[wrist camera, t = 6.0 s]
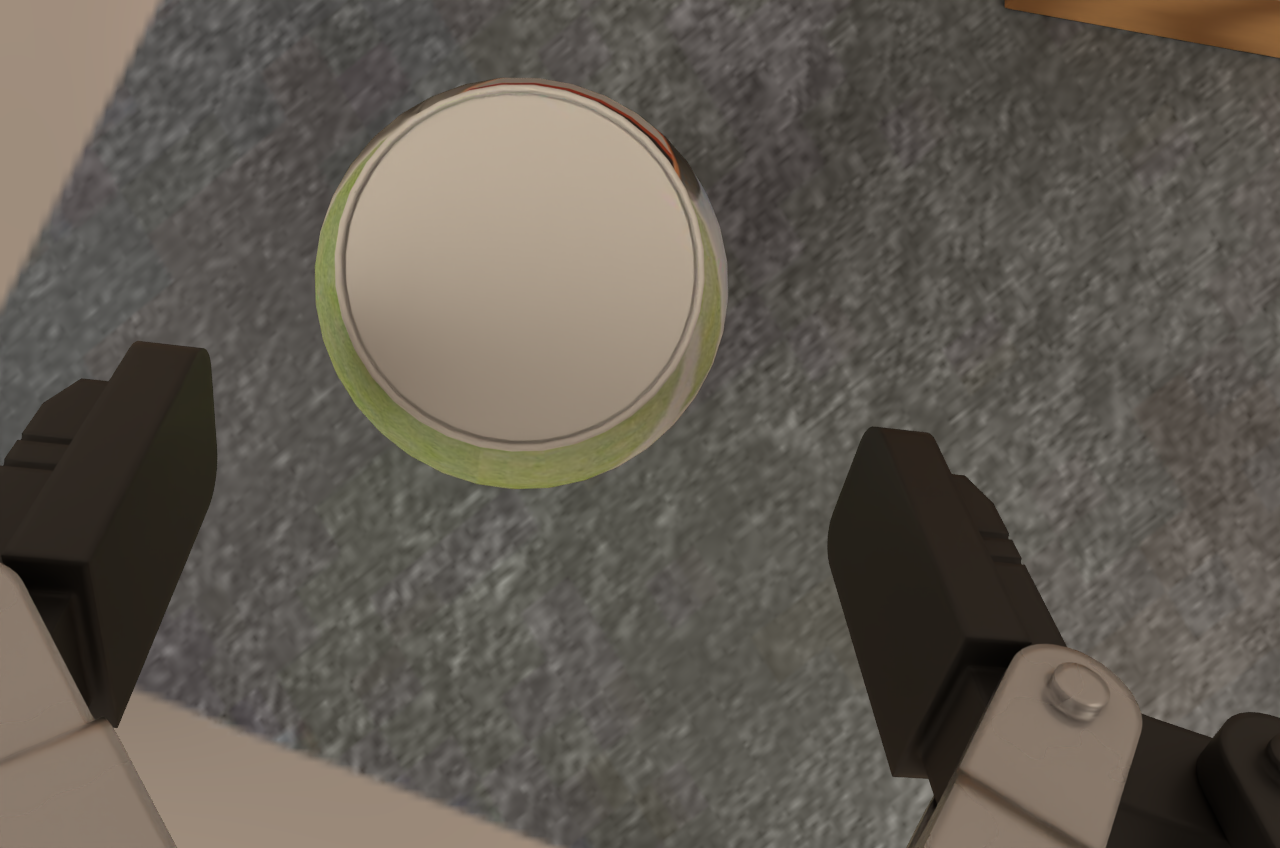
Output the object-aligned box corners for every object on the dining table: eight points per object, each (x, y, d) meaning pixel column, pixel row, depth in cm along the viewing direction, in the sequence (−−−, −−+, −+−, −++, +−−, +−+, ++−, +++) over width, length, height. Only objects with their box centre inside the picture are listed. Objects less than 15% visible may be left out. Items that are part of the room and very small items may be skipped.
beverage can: (688, 297, 26) (872, 74, 15) (572, 566, 25) (674, 558, 13) (459, 190, 26) (460, -132, 14) (326, 459, 24) (205, 351, 13)
